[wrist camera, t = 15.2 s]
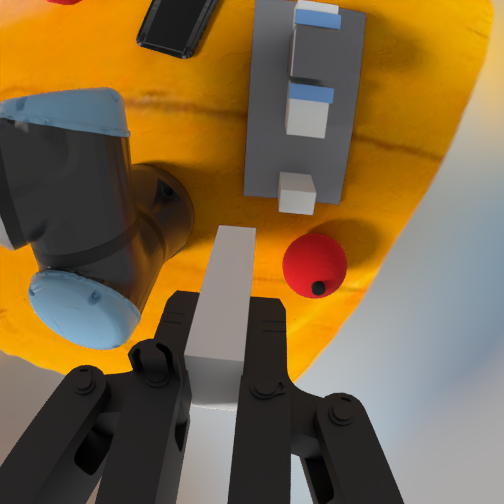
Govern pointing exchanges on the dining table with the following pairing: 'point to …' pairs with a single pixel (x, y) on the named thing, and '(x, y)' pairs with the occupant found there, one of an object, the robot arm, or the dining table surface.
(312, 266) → the ornament
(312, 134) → the grey plate with blocks
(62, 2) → the tomato
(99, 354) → the dining table surface
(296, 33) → the plug
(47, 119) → the robot arm
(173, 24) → the phone
